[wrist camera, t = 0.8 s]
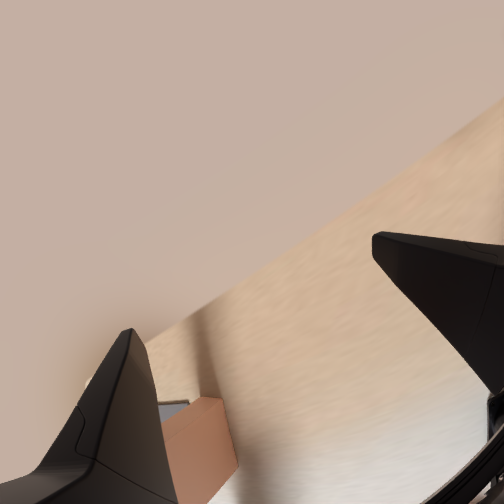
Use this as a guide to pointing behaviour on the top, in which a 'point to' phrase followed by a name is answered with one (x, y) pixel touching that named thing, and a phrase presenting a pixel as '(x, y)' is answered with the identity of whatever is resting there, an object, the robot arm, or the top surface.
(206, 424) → the tile
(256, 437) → the top surface
